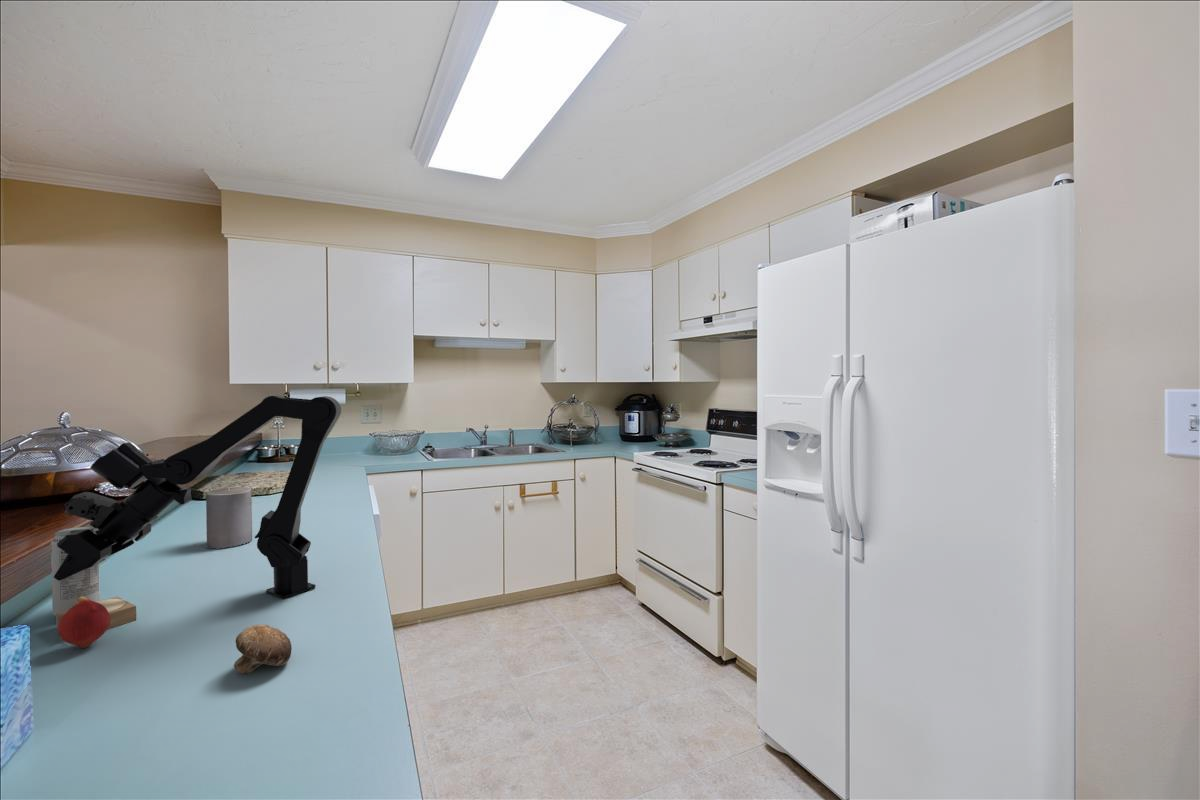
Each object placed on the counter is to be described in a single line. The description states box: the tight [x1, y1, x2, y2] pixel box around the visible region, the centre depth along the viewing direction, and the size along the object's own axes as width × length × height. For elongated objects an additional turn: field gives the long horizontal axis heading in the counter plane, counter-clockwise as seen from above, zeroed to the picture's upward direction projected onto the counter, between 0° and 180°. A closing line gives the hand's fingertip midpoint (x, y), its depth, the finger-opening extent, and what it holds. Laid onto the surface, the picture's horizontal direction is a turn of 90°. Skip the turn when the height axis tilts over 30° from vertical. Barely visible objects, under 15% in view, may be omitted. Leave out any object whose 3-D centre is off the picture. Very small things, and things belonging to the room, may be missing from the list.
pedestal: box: [55, 596, 137, 630], centre depth 90 cm, size 8×8×3 cm
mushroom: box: [233, 624, 292, 675], centre depth 77 cm, size 8×8×6 cm
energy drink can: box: [50, 526, 101, 617], centre depth 94 cm, size 6×6×15 cm
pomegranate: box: [57, 597, 111, 649], centre depth 82 cm, size 6×6×8 cm
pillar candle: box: [205, 485, 253, 549], centre depth 136 cm, size 10×10×15 cm
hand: (68, 572), depth 94 cm, fingers closed on energy drink can, 6 cm apart
